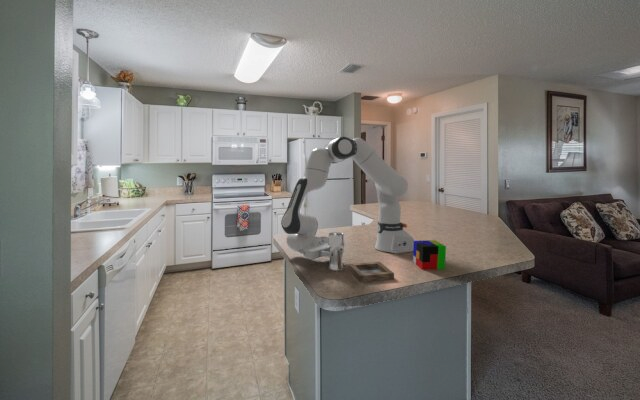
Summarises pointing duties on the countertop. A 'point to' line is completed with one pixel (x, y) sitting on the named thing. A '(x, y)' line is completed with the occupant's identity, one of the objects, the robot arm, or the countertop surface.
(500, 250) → the countertop surface
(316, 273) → the countertop surface
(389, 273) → the cradle jig
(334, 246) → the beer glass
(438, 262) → the puzzle toy
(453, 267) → the countertop surface
